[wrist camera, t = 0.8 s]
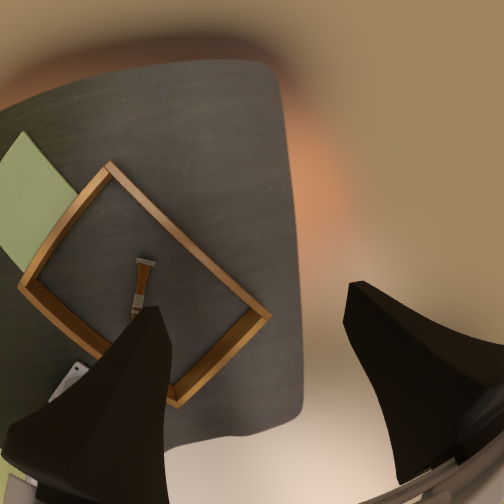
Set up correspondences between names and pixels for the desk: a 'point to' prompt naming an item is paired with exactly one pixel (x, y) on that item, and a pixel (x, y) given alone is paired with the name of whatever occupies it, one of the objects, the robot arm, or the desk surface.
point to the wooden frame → (99, 345)
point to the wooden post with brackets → (141, 284)
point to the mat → (29, 200)
